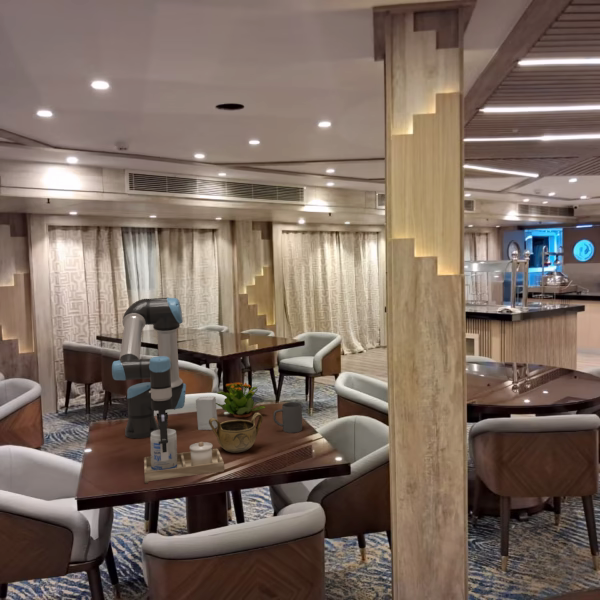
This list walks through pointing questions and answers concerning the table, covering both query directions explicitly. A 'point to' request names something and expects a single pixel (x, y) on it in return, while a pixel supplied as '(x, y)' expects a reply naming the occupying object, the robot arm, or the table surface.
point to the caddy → (183, 467)
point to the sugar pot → (201, 453)
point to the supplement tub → (156, 451)
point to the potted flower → (239, 400)
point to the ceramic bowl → (237, 433)
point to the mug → (290, 417)
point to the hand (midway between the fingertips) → (164, 454)
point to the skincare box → (206, 412)
